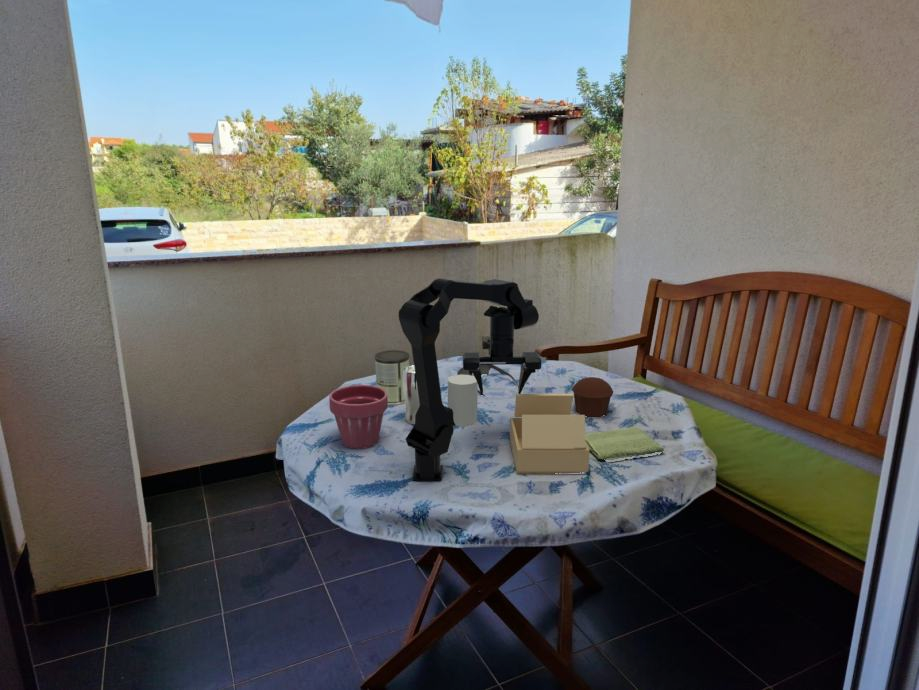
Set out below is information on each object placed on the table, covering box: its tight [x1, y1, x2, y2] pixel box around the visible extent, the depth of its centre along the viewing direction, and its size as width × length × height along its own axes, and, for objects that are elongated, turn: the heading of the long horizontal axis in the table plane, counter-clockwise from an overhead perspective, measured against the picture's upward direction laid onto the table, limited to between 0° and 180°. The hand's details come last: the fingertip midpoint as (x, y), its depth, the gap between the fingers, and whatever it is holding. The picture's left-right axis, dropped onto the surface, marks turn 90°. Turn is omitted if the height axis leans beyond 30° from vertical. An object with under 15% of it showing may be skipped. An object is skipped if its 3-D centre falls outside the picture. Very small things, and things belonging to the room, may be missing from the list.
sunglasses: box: [456, 365, 519, 397], centre depth 181 cm, size 16×17×5 cm
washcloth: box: [585, 426, 665, 460], centre depth 137 cm, size 13×18×3 cm
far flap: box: [513, 393, 574, 418], centre depth 138 cm, size 7×14×1 cm
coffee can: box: [374, 349, 410, 406], centre depth 167 cm, size 10×10×14 cm
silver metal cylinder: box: [402, 364, 420, 426], centre depth 151 cm, size 7×7×15 cm
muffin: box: [571, 376, 614, 418], centre depth 158 cm, size 12×11×10 cm
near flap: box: [521, 414, 586, 448], centre depth 123 cm, size 7×14×1 cm
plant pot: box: [329, 384, 389, 450], centre depth 139 cm, size 14×14×13 cm
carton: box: [509, 417, 591, 475], centre depth 132 cm, size 18×16×6 cm
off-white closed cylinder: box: [447, 374, 479, 427], centre depth 152 cm, size 8×8×12 cm
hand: (500, 394), depth 136 cm, fingers open, 9 cm apart
